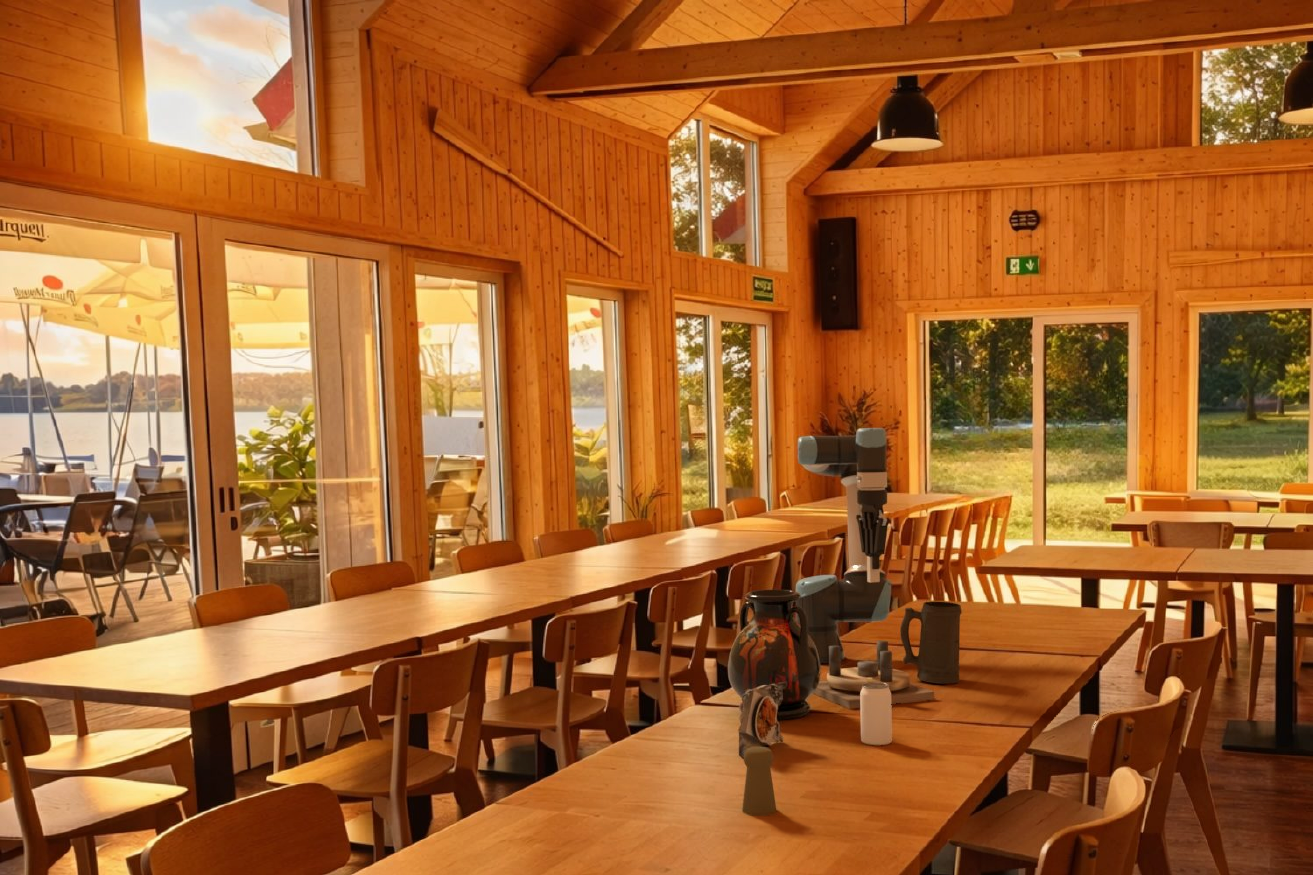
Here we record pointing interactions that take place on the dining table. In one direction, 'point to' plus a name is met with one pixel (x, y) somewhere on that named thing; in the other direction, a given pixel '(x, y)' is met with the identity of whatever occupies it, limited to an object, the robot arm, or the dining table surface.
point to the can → (876, 714)
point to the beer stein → (935, 641)
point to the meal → (760, 717)
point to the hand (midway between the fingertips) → (873, 581)
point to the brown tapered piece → (758, 782)
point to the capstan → (865, 671)
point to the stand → (853, 697)
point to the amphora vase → (775, 651)
